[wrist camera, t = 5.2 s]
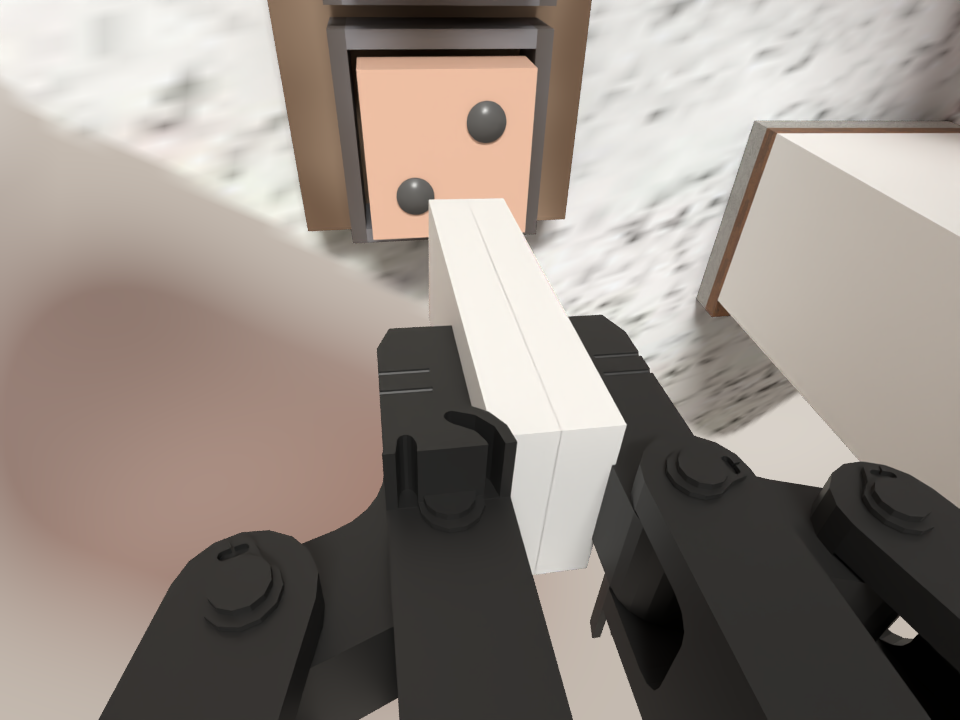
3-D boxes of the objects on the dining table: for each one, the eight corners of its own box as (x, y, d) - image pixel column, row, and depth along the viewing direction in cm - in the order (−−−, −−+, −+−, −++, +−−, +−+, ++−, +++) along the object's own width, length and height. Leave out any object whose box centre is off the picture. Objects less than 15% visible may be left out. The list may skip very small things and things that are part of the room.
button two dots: (524, 55, 21) (538, 68, 19) (514, 211, 25) (525, 233, 23) (357, 56, 20) (356, 70, 18) (372, 217, 24) (373, 241, 22)
